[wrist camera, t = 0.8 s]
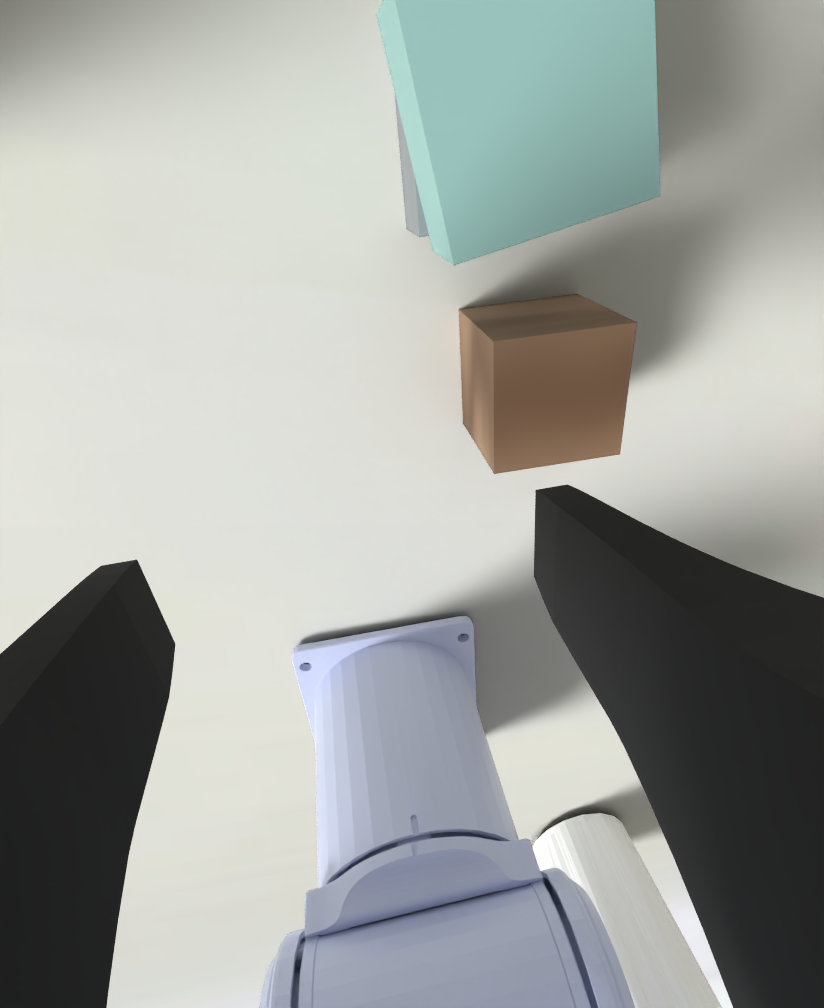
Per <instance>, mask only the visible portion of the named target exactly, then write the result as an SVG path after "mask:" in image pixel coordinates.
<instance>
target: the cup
mask: <svg viewBox="0 0 824 1008" xmlns="http://www.w3.org/2000/svg"><path fill="white" fill-rule="evenodd" d="M533 851H534V854H535V857H536V860H537V863H538V866H539V869H540V871H542V870H546V869H550V868H559V869H561V870H562V871H563V872H564V873H566V875H567V876H568V877H569V878H570V879H572V880H573V881H574V882H576V883H577V884H578V885H580V886H581V887H582V888H583V889H584V890H585V891H586V893H587V894H588V896H589V897H590V899H591V900H592V902H593V904H594V906H595V907H596V909H597V911H598V913H599V915H600V917H601V919H602V921H603V923H604V926H605V928H606V930H607V932H608V935H609V937H610V939H611V942H612V944H613V947H614V949H615V951H616V954H617V957H618V959H619V962H620V964H621V967H622V970H623V972H624V975H625V978H626V981H627V984H628V987H629V990H630V993H631V996H632V999H633V1002H634V1005H635V1008H722V1007H721V1005H720V1003H719V1001H718V999H717V998H716V996H715V994H714V992H713V990H712V988H711V987H710V985H709V983H708V981H707V979H706V977H705V975H704V974H703V972H702V970H701V968H700V966H699V964H698V962H697V961H696V959H695V957H694V955H693V953H692V951H691V949H690V948H689V946H688V944H687V942H686V940H685V938H684V937H683V935H682V933H681V931H680V929H679V927H678V925H677V924H676V922H675V920H674V918H673V916H672V914H671V912H670V911H669V909H668V907H667V905H666V903H665V901H664V900H663V898H662V896H661V894H660V892H659V890H658V888H657V887H656V885H655V883H654V881H653V879H652V877H651V875H650V874H649V872H648V870H647V868H646V866H645V864H644V862H643V861H642V859H641V857H640V855H639V853H638V851H637V850H636V848H635V846H634V844H633V842H632V840H631V838H630V837H629V835H628V833H627V831H626V829H625V827H624V825H623V824H622V822H621V821H619V820H618V819H617V818H616V817H615V816H612V815H607V814H603V813H596V814H584V815H580V816H577V817H573V818H570V819H567V820H564V821H562V822H560V823H558V824H557V825H555V826H553V827H551V828H549V829H548V830H547V831H545V832H544V833H543V834H542V835H541V836H540V837H539V838H538V839H537V840H536V841H535V844H534V846H533Z"/></svg>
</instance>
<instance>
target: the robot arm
mask: <svg viewBox="0 0 824 1008" xmlns="http://www.w3.org/2000/svg"><path fill="white" fill-rule="evenodd" d="M534 578H535V580H536V583H537V585H538V588H539V590H540V593H541V595H542V598H543V600H544V603H545V605H546V607H547V609H548V612H549V614H550V616H551V619H552V621H553V623H554V625H555V626H556V628H557V630H558V632H559V633H560V635H561V637H562V639H563V640H564V642H565V644H566V646H567V647H568V649H569V651H570V653H571V654H572V656H573V658H574V659H575V661H576V663H577V664H578V666H579V668H580V670H581V671H582V673H583V675H584V676H585V678H586V680H587V681H588V683H589V685H590V687H591V688H592V690H593V692H594V693H595V695H596V697H597V698H598V700H599V702H600V704H601V705H602V707H603V709H604V710H605V712H606V714H607V715H608V717H609V719H610V721H611V722H612V724H613V726H614V728H615V730H616V732H617V734H618V736H619V737H620V739H621V741H622V743H623V745H624V747H625V749H626V751H627V754H628V756H629V758H630V760H631V762H632V764H633V767H634V769H635V771H636V773H637V775H638V778H639V780H640V782H641V784H642V786H643V788H644V791H645V793H646V795H647V797H648V799H649V802H650V804H651V806H652V809H653V811H654V813H655V815H656V818H657V820H658V822H659V825H660V827H661V829H662V832H663V834H664V836H665V838H666V841H667V843H668V845H669V848H670V850H671V852H672V854H673V857H674V859H675V862H676V864H677V866H678V869H679V871H680V874H681V876H682V879H683V881H684V884H685V886H686V888H687V891H688V893H689V896H690V898H691V901H692V903H693V906H694V908H695V910H696V913H697V915H698V918H699V920H700V923H701V925H702V927H703V930H704V932H705V935H706V938H707V940H708V943H709V945H710V948H711V951H712V953H713V956H714V959H715V961H716V964H717V966H718V969H719V972H720V974H721V977H722V979H723V982H724V985H725V987H726V990H727V992H728V995H729V998H730V1000H731V1003H732V1005H733V1008H824V598H823V597H820V596H817V595H813V594H810V593H807V592H804V591H801V590H798V589H795V588H792V587H790V586H787V585H784V584H781V583H779V582H776V581H773V580H771V579H768V578H765V577H763V576H760V575H757V574H754V573H752V572H749V571H746V570H744V569H741V568H739V567H736V566H734V565H731V564H729V563H727V562H724V561H722V560H720V559H717V558H715V557H713V556H711V555H708V554H706V553H704V552H702V551H699V550H697V549H695V548H693V547H690V546H688V545H686V544H684V543H682V542H680V541H678V540H676V539H674V538H671V537H669V536H667V535H665V534H663V533H661V532H659V531H657V530H655V529H653V528H651V527H649V526H647V525H645V524H643V523H642V522H640V521H638V520H636V519H634V518H632V517H630V516H628V515H626V514H624V513H622V512H621V511H619V510H617V509H615V508H613V507H611V506H609V505H607V504H605V503H604V502H602V501H600V500H598V499H596V498H594V497H592V496H590V495H588V494H586V493H584V492H582V491H580V490H578V489H576V488H574V487H572V486H570V485H562V486H557V487H551V488H545V489H539V490H536V504H535V551H534ZM461 634H465V635H463V636H459V635H461ZM174 651H175V642H174V640H173V638H172V636H171V633H170V631H169V629H168V627H167V625H166V622H165V620H164V618H163V616H162V614H161V611H160V609H159V607H158V605H157V603H156V600H155V598H154V596H153V594H152V592H151V589H150V587H149V585H148V583H147V581H146V578H145V576H144V574H143V572H142V570H141V567H140V565H139V563H138V561H137V560H132V561H127V562H121V563H115V564H109V565H104V566H100V567H99V568H98V569H96V570H95V571H94V572H92V573H91V574H90V575H89V576H87V577H86V578H85V579H84V580H83V581H82V582H80V583H79V584H78V585H77V586H76V587H75V588H74V589H72V590H71V591H70V592H69V593H68V594H67V595H66V596H65V597H63V598H62V599H61V600H60V601H59V602H58V603H57V604H56V605H55V606H53V607H52V608H51V609H50V610H49V611H48V612H47V613H46V614H45V615H43V616H42V617H41V618H40V619H39V620H38V621H37V622H36V623H35V624H33V625H32V626H31V627H30V628H29V629H28V630H27V631H26V632H25V633H23V634H22V635H21V636H20V637H19V638H18V639H17V640H16V641H14V642H13V643H12V644H11V645H10V646H9V647H8V648H7V649H6V650H4V651H3V652H2V653H1V654H0V1008H106V1006H107V997H108V989H109V982H110V974H111V967H112V960H113V953H114V945H115V938H116V931H117V923H118V917H119V911H120V904H121V898H122V892H123V886H124V880H125V874H126V867H127V861H128V855H129V850H130V846H131V841H132V837H133V832H134V828H135V824H136V820H137V816H138V812H139V809H140V805H141V801H142V797H143V794H144V790H145V786H146V783H147V779H148V775H149V771H150V768H151V764H152V760H153V757H154V753H155V749H156V745H157V742H158V738H159V734H160V730H161V726H162V723H163V719H164V715H165V711H166V707H167V703H168V699H169V693H170V686H171V679H172V671H173V661H174ZM292 663H293V667H294V670H295V674H296V677H297V681H298V684H299V688H300V691H301V695H302V699H303V702H304V706H305V709H306V713H307V716H308V720H309V724H310V727H311V731H312V734H313V738H314V741H315V763H316V813H317V862H318V888H316V889H313V890H309V891H307V892H306V893H305V929H301V930H297V931H293V932H291V933H289V934H287V935H286V937H285V938H284V939H283V941H282V943H281V945H280V947H279V950H278V952H277V954H276V956H275V957H274V959H273V961H272V962H271V964H270V966H269V968H268V970H267V973H266V976H265V980H264V983H263V988H262V993H261V999H260V1005H259V1008H635V1005H634V1002H633V999H632V996H631V993H630V990H629V987H628V984H627V981H626V978H625V975H624V972H623V970H622V967H621V964H620V962H619V959H618V957H617V954H616V951H615V949H614V947H613V944H612V942H611V939H610V937H609V935H608V932H607V930H606V928H605V926H604V923H603V921H602V919H601V917H600V915H599V913H598V911H597V909H596V907H595V906H594V904H593V902H592V900H591V899H590V897H589V896H588V894H587V893H586V891H585V890H584V889H583V888H582V887H581V886H580V885H578V884H577V883H576V882H574V881H573V880H572V879H570V878H569V877H568V876H567V875H566V873H564V872H563V871H562V870H561V869H559V868H550V869H546V870H542V871H540V869H539V866H538V863H537V860H536V857H535V854H534V851H533V848H532V845H531V842H530V840H529V839H521V840H519V839H518V836H517V832H516V829H515V826H514V823H513V820H512V817H511V814H510V811H509V807H508V804H507V801H506V798H505V795H504V792H503V789H502V786H501V782H500V779H499V776H498V773H497V770H496V767H495V764H494V760H493V757H492V754H491V751H490V748H489V745H488V742H487V739H486V735H485V732H484V729H483V726H482V723H481V720H480V717H479V714H478V710H477V707H476V679H475V649H474V626H473V623H472V620H471V619H470V618H469V617H467V616H458V617H452V618H447V619H441V620H436V621H430V622H425V623H419V624H413V625H408V626H402V627H397V628H391V629H386V630H380V631H375V632H369V633H363V634H358V635H352V636H347V637H341V638H336V639H330V640H325V641H319V642H313V643H308V644H302V645H299V646H296V647H295V648H294V649H293V651H292ZM302 663H309V664H302Z"/></svg>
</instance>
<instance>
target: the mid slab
mask: <svg viewBox="0 0 824 1008" xmlns="http://www.w3.org/2000/svg"><path fill="white" fill-rule="evenodd" d="M376 16H377V20H378V25H379V29H380V33H381V37H382V41H383V45H384V50H385V54H386V58H387V62H388V66H389V71H390V75H391V79H392V83H393V87H394V91H395V96H396V100H397V104H398V108H399V112H400V117H401V121H402V125H403V129H404V133H405V137H406V142H407V146H408V150H409V154H410V158H411V163H412V167H413V171H414V175H415V179H416V183H417V188H418V192H419V196H420V200H421V204H422V209H423V213H424V217H425V221H426V225H427V229H428V234H429V238H430V242H431V246H432V250H433V252H434V253H436V254H437V255H439V256H441V257H442V258H444V259H445V260H447V261H448V262H450V263H451V264H453V265H456V264H459V263H462V262H465V261H468V260H471V259H474V258H477V257H480V256H483V255H486V254H489V253H492V252H495V251H498V250H501V249H504V248H507V247H510V246H513V245H516V244H519V243H522V242H525V241H528V240H531V239H534V238H537V237H540V236H543V235H546V234H549V233H552V232H555V231H558V230H561V229H564V228H567V227H570V226H573V225H576V224H579V223H582V222H585V221H588V220H591V219H594V218H597V217H600V216H603V215H606V214H609V213H612V212H615V211H618V210H621V209H624V208H627V207H630V206H633V205H636V204H639V203H642V202H645V201H648V200H651V199H654V198H657V197H660V166H659V132H658V97H657V62H656V28H655V0H383V2H382V4H381V6H380V8H379V10H378V12H377V14H376Z"/></svg>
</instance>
